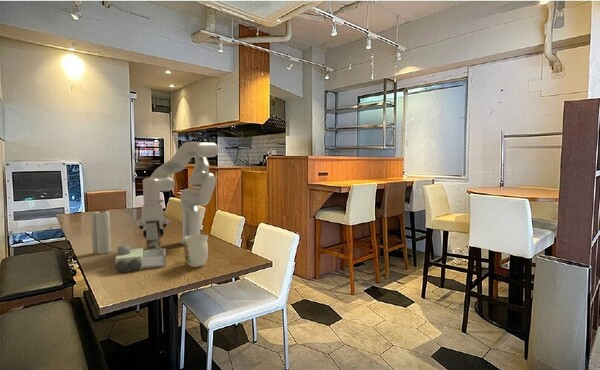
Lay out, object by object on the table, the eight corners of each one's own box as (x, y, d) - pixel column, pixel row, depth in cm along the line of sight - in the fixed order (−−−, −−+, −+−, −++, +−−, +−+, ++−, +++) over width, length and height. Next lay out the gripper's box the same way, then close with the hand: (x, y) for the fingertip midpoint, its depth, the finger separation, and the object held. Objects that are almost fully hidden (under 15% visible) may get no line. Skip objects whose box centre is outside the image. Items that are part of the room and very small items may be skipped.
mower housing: (143, 258, 163) (143, 240, 162) (141, 270, 146) (140, 250, 145) (120, 261, 159) (119, 242, 158) (115, 273, 142) (114, 252, 141)
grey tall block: (113, 251, 174) (112, 211, 173) (104, 254, 169) (102, 213, 167) (102, 250, 176) (101, 210, 175) (92, 253, 171) (91, 212, 169)
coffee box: (160, 253, 167) (159, 222, 165) (146, 255, 165) (145, 223, 163) (161, 248, 176) (160, 218, 174) (148, 249, 173) (146, 219, 172)
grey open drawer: (165, 258, 164) (165, 248, 164) (165, 266, 152) (165, 255, 152) (143, 260, 160) (143, 250, 160) (141, 268, 148) (141, 257, 148)
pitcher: (200, 257, 166) (200, 230, 165) (214, 267, 151) (214, 237, 150) (178, 261, 159) (177, 233, 158) (190, 272, 145) (189, 241, 144)
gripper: (170, 200, 174) (171, 233, 176) (133, 202, 168) (135, 237, 170) (170, 202, 167) (172, 237, 169) (132, 204, 161) (134, 240, 163)
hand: (153, 236), depth 169 cm, fingers closed on coffee box, 6 cm apart
